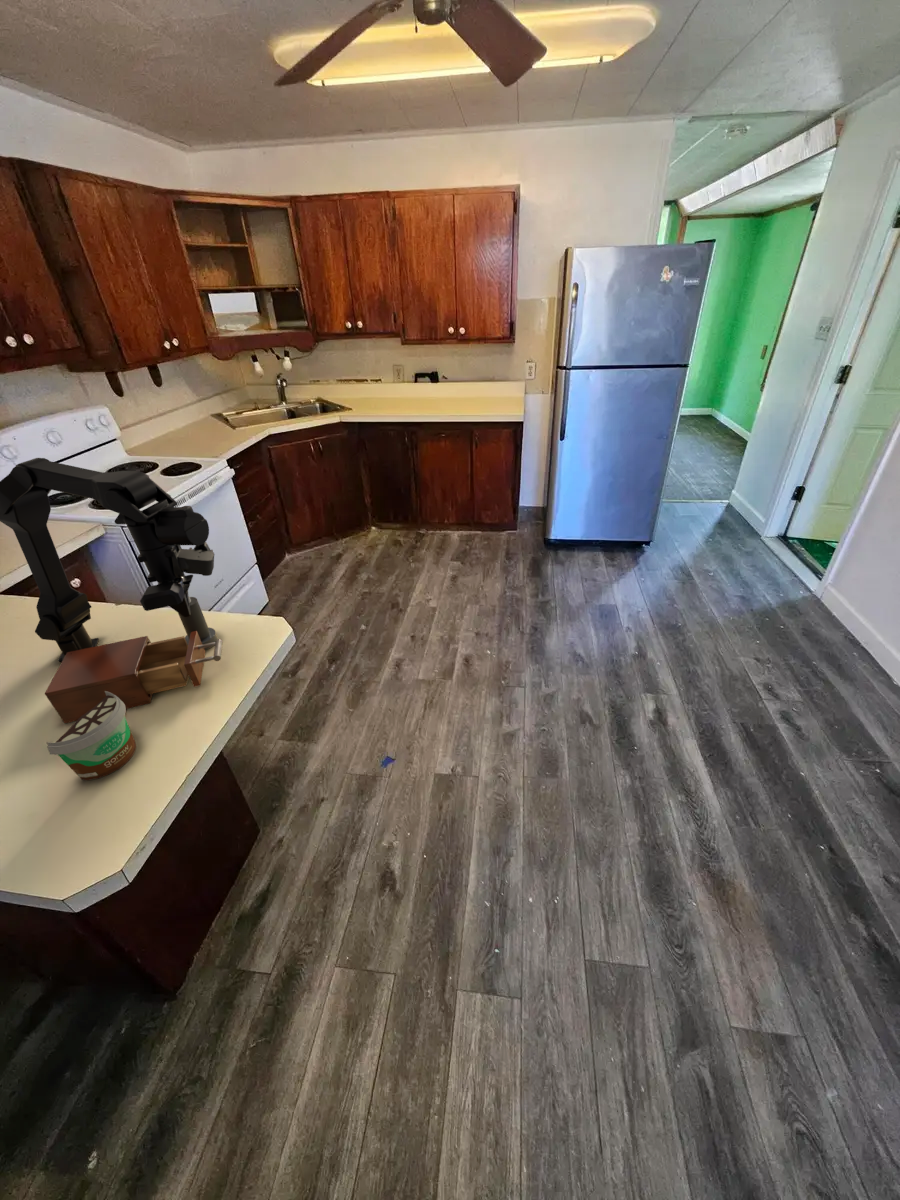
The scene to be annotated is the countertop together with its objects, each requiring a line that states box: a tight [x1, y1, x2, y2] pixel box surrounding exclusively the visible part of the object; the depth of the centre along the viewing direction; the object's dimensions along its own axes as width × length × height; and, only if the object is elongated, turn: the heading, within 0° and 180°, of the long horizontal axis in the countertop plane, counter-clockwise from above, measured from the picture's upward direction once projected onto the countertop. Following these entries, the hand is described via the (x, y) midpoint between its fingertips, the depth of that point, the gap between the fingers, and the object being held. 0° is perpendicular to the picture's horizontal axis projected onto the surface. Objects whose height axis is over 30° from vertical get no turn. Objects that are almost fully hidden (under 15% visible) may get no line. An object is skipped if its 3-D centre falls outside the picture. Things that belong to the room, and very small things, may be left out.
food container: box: [46, 691, 137, 781], centre depth 80 cm, size 12×6×10 cm, turn 168°
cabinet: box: [44, 635, 154, 724], centre depth 95 cm, size 15×13×8 cm
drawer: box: [137, 631, 224, 694], centre depth 98 cm, size 18×11×6 cm, turn 109°
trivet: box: [184, 626, 219, 651], centre depth 109 cm, size 7×7×2 cm
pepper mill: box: [177, 596, 210, 641], centre depth 106 cm, size 4×4×10 cm
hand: (187, 616), depth 95 cm, fingers closed
